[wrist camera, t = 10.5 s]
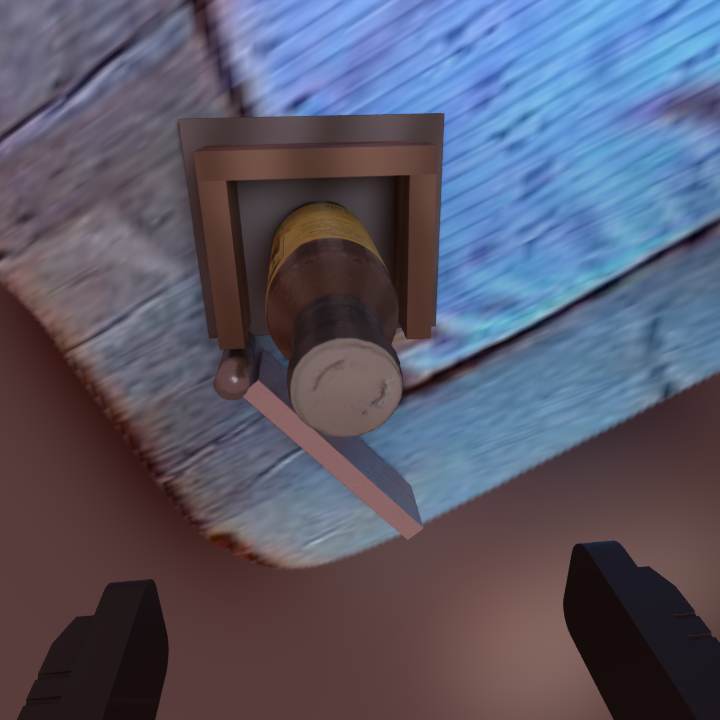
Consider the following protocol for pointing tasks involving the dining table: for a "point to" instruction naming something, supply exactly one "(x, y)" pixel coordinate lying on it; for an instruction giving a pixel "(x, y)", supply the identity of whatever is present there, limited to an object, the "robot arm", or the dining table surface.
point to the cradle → (305, 184)
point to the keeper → (318, 436)
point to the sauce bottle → (334, 320)
